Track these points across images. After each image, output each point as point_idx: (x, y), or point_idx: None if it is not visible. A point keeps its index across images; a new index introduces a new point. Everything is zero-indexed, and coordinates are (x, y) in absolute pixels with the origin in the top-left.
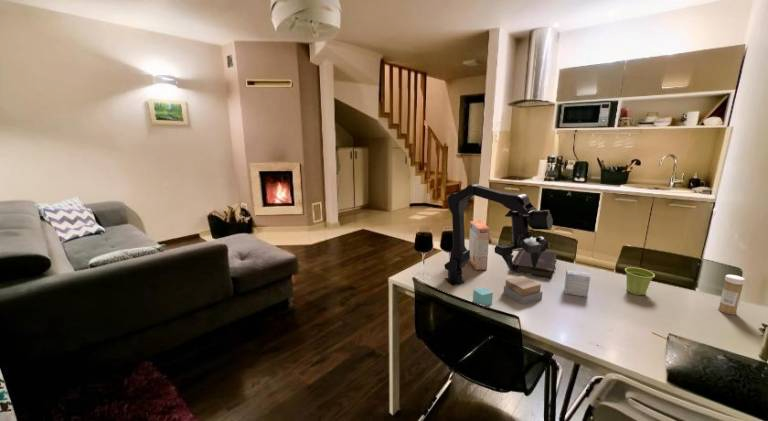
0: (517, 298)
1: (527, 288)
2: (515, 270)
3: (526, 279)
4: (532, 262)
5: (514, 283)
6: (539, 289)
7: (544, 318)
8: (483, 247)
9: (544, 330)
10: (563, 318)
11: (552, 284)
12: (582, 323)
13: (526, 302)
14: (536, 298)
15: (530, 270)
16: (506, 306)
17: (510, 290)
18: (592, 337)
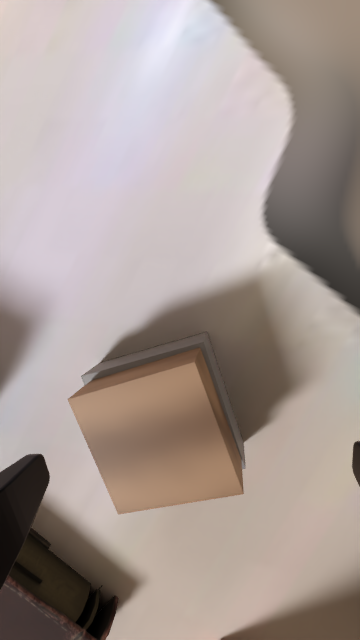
0: (215, 366)
1: (164, 370)
2: (97, 596)
3: (117, 469)
4: (11, 543)
5: (213, 439)
6: (89, 384)
7: (169, 200)
8: None
9: (223, 91)
10: (88, 197)
11: (7, 461)
12: (34, 154)
13: (182, 339)
14: (125, 357)
15: (41, 572)
16: (296, 321)
17: (230, 422)
18: (47, 38)
